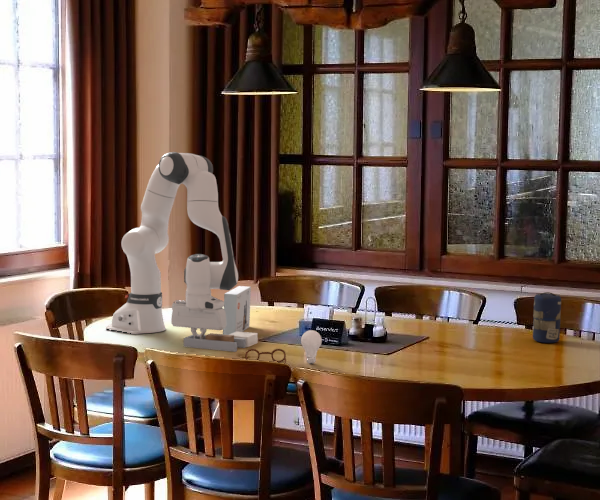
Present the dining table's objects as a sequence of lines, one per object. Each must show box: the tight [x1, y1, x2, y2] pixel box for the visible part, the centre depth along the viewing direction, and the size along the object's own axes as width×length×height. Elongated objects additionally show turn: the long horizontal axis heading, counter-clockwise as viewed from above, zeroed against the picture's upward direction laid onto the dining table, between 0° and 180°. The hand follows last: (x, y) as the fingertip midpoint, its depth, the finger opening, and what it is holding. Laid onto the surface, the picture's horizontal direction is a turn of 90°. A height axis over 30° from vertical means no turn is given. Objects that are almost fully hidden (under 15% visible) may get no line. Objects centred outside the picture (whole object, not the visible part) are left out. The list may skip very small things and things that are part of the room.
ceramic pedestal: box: [229, 331, 259, 348], centre depth 362 cm, size 8×8×4 cm
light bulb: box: [300, 329, 323, 365], centre depth 331 cm, size 7×7×11 cm
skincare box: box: [222, 285, 252, 335], centre depth 384 cm, size 21×6×16 cm, turn 168°
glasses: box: [244, 348, 287, 364], centre depth 327 cm, size 13×13×5 cm
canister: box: [532, 291, 562, 344], centre depth 369 cm, size 10×10×18 cm
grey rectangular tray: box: [183, 333, 247, 353], centre depth 357 cm, size 20×8×3 cm, turn 67°
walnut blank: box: [205, 332, 234, 342], centre depth 356 cm, size 9×4×4 cm, turn 69°
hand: (198, 340), depth 359 cm, fingers closed
